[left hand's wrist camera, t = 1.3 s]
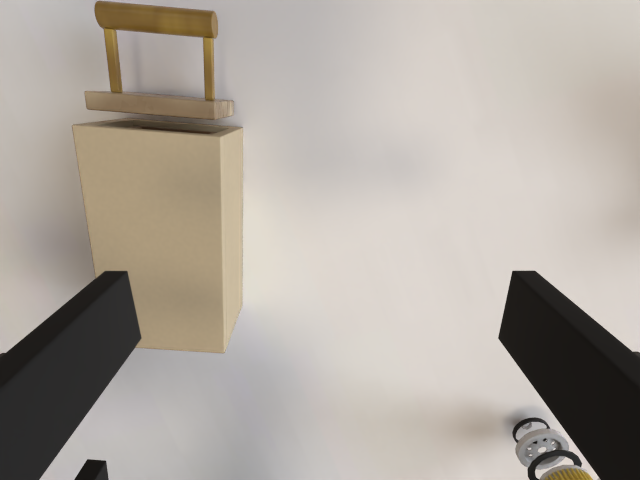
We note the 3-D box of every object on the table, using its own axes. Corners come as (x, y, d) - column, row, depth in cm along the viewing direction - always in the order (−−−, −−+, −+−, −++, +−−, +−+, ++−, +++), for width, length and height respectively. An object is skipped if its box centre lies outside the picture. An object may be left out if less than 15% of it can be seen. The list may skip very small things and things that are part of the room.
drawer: (118, 11, 29) (69, -9, 23) (233, 21, 29) (212, 3, 24) (144, 274, 37) (113, 306, 32) (234, 280, 38) (219, 313, 32)
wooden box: (127, 118, 33) (71, 124, 25) (242, 127, 33) (220, 136, 26) (145, 299, 39) (105, 346, 32) (242, 305, 40) (224, 353, 32)
